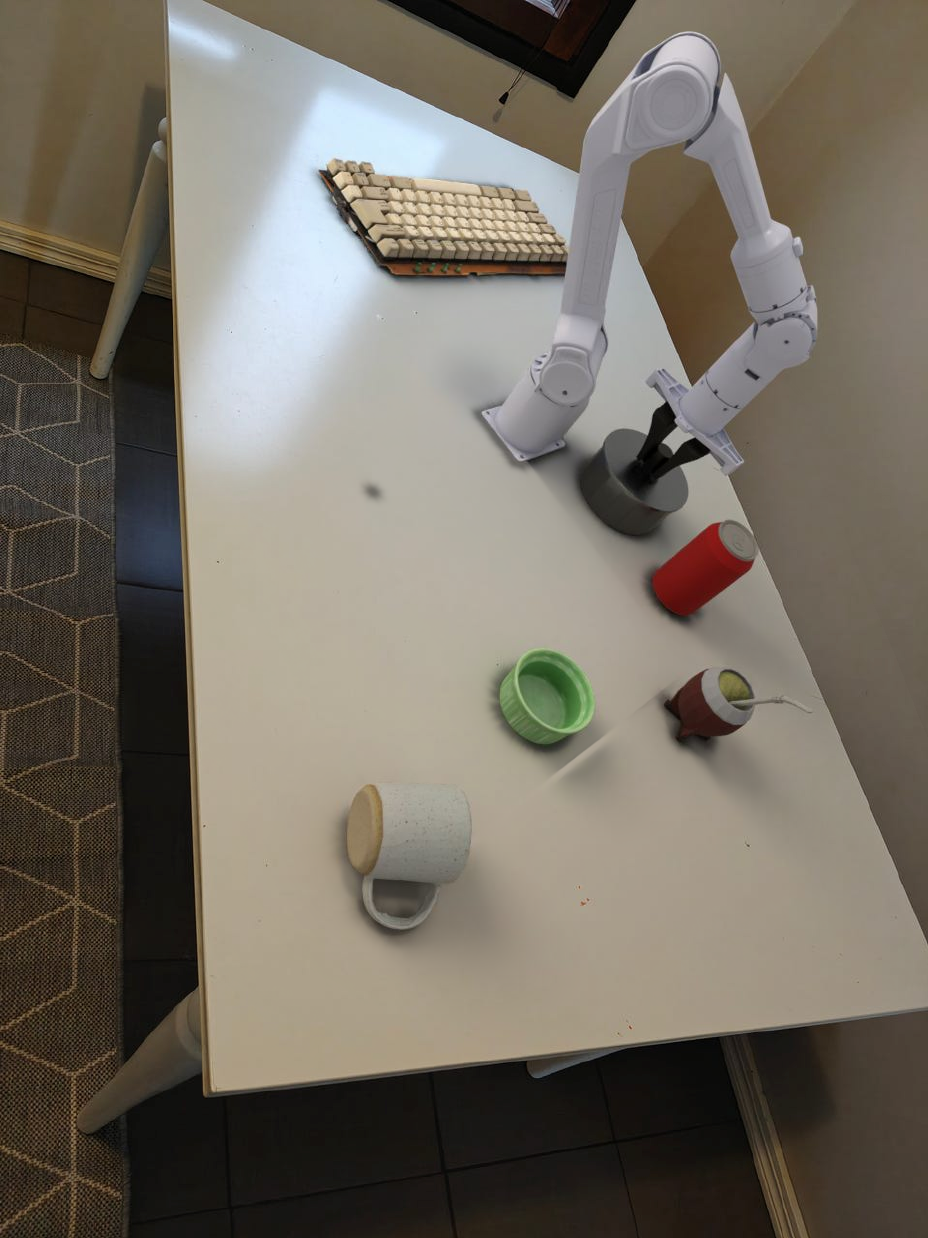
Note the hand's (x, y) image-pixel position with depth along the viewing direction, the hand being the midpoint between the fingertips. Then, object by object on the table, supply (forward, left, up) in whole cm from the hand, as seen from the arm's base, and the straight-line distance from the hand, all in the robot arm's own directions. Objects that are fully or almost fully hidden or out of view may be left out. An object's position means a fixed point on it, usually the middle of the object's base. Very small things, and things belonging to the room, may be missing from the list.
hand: (649, 466), depth 104 cm
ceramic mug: (+55, +20, -7) cm, 59 cm away
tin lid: (0, 0, -1) cm, 1 cm away
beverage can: (+4, +14, -6) cm, 16 cm away
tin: (0, 0, -6) cm, 6 cm away
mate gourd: (+16, +27, -6) cm, 32 cm away
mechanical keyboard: (-9, -47, -6) cm, 48 cm away
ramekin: (+33, +16, -6) cm, 37 cm away
